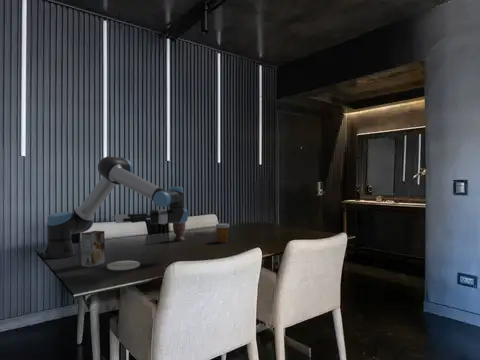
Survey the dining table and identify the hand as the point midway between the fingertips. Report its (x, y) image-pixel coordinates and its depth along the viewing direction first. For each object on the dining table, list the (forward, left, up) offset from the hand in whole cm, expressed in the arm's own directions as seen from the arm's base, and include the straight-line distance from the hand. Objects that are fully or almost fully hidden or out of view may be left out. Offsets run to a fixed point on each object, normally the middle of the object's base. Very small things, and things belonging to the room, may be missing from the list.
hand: (115, 218), depth 174 cm
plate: (+5, -9, -22) cm, 24 cm away
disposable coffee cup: (+63, +48, -22) cm, 83 cm away
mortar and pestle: (+33, +58, -22) cm, 71 cm away
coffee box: (-10, -2, -22) cm, 24 cm away
